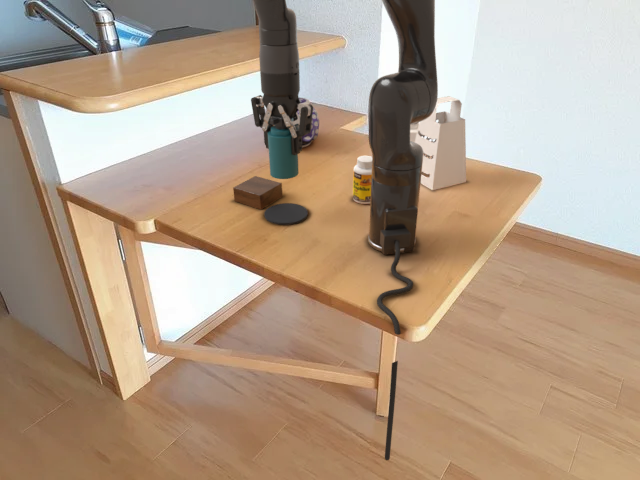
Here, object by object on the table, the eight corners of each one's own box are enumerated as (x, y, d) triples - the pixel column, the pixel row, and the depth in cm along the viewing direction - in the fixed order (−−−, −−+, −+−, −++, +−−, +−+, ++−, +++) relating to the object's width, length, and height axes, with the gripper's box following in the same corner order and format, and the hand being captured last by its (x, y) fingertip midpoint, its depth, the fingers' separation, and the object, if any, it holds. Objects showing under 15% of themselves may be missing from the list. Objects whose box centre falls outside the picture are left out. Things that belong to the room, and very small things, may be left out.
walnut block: (261, 209, 118) (260, 195, 117) (234, 201, 122) (232, 187, 121) (282, 196, 124) (281, 183, 122) (256, 189, 128) (255, 175, 126)
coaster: (311, 222, 113) (311, 220, 113) (267, 227, 111) (266, 225, 111) (303, 203, 121) (303, 201, 121) (262, 207, 120) (262, 205, 119)
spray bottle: (296, 189, 111) (265, 162, 100) (274, 183, 114) (242, 156, 103) (318, 139, 113) (290, 107, 102) (295, 134, 116) (266, 102, 105)
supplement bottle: (348, 201, 122) (349, 160, 116) (359, 192, 126) (360, 152, 121) (370, 207, 119) (372, 164, 114) (380, 197, 123) (382, 156, 118)
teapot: (338, 150, 150) (338, 98, 143) (291, 161, 144) (289, 107, 136) (296, 127, 169) (294, 80, 162) (252, 135, 162) (249, 86, 155)
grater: (406, 175, 135) (413, 97, 125) (439, 167, 139) (448, 91, 129) (432, 190, 127) (441, 108, 117) (466, 181, 131) (477, 101, 121)
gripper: (238, 66, 101) (245, 149, 110) (298, 76, 94) (301, 163, 103) (262, 59, 106) (267, 139, 115) (321, 68, 100) (322, 152, 108)
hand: (283, 150), depth 109 cm, fingers closed on spray bottle, 6 cm apart
